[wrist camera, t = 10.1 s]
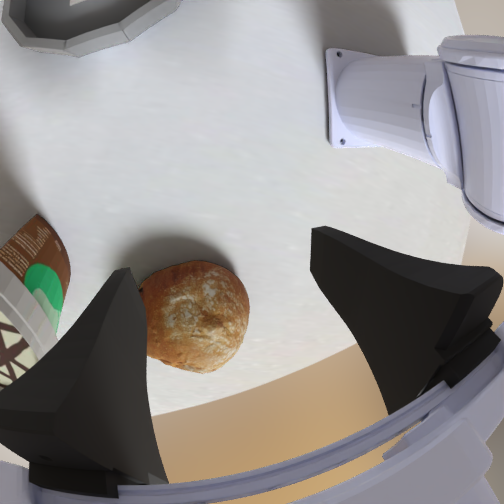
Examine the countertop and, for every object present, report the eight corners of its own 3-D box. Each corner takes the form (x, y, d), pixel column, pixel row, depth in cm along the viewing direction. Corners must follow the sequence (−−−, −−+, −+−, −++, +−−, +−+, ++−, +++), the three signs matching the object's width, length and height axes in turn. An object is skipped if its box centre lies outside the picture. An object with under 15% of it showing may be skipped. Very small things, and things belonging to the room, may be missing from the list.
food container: (61, 333, 21) (43, 422, 13) (11, 305, 18) (-23, 387, 10) (108, 238, 18) (77, 339, 10) (43, 197, 15) (-29, 275, 7)
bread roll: (215, 316, 30) (265, 362, 25) (131, 353, 24) (171, 415, 19) (217, 235, 25) (281, 277, 20) (108, 268, 19) (148, 337, 14)
